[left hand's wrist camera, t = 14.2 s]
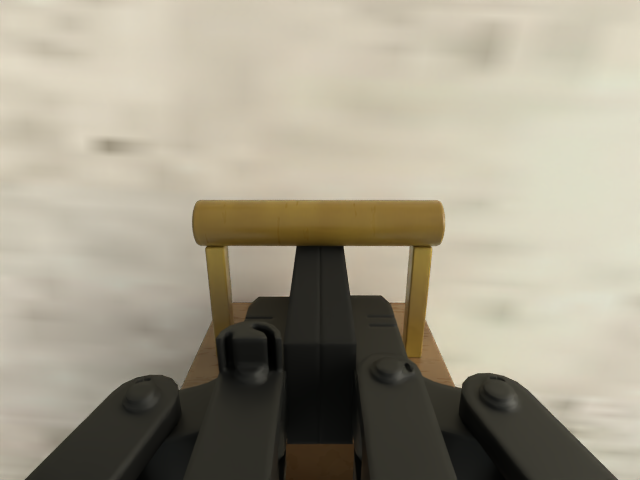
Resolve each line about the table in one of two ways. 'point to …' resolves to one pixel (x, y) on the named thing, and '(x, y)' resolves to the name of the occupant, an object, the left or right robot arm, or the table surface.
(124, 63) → the table surface
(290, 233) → the drawer
